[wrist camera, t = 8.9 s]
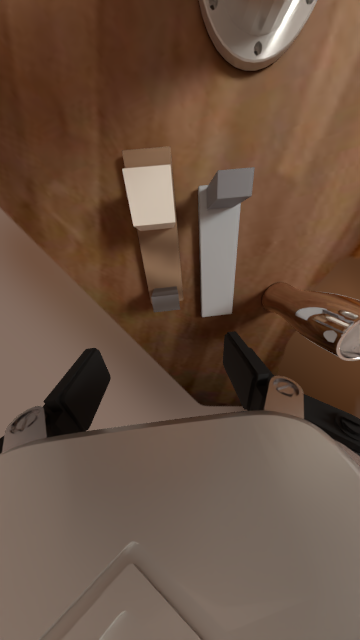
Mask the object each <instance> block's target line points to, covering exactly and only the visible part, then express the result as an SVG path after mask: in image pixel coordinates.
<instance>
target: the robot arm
mask: <svg viewBox="0 0 360 640" xmlns="http://www.w3.org/2000/svg"><path fill="white" fill-rule="evenodd" d="M316 2H317V0H199V4H200V8H201V13H202V17H203V20H204V23H205V26H206V28H207V31H208V34H209V36H210V38H211V40H212V42H213V44H214V46H215V47H216V49H217V51H218V52H219V53H220V54H221V55H222V57H223V58H224V59H225V60H226V61H227V62H229V63H230V64H231V65H233V66H234V67H236V68H239V69H242V70H245V71H256V70H259V69H262V68H265V67H267V66H269V65H270V64H272V63H274V62H275V61H277V60H278V59H279V58H280V57H281V56H282V55H283V54H284V53H285V52H286V51H287V50H288V48H289V47H290V46H291V44H292V43H293V42H294V40H295V39H296V38H297V36H298V34H299V33H300V31H301V29H302V28H303V26H304V25H305V23H306V21H307V20H308V18H309V16H310V14H311V12H312V10H313V8H314V6H315V4H316ZM223 365H224V368H225V370H226V372H227V374H228V376H229V378H230V380H231V382H232V385H233V387H234V389H235V391H236V393H237V395H238V397H239V399H240V402H241V404H242V406H243V408H244V409H247V411H241V412H231V413H222V414H213V415H206V416H198V417H190V418H182V419H174V420H166V421H159V422H151V423H144V424H137V425H130V426H121V427H114V428H107V429H99V430H92V431H86V430H88V429H89V427H90V425H91V423H92V421H93V418H94V416H95V414H96V411H97V409H98V407H99V405H100V402H101V400H102V398H103V395H104V393H105V391H106V388H107V386H108V384H109V381H110V374H109V372H108V369H107V367H106V365H105V363H104V360H103V358H102V356H101V353H100V351H99V350H97V349H96V348H90V349H86V350H85V351H84V352H83V353H82V354H81V356H80V357H79V358H78V359H77V361H76V362H75V363H74V364H73V366H72V367H71V368H70V369H69V371H68V372H67V373H66V374H65V376H64V377H63V378H62V379H61V381H60V382H59V383H58V384H57V385H56V387H55V388H54V389H53V391H52V392H51V393H50V394H49V395H48V397H47V398H46V399H45V400H44V403H45V405H44V406H43V407H41V406H36V407H33V408H30V409H28V410H26V411H24V412H23V413H21V414H20V415H18V417H16V418H15V419H14V420H13V421H12V422H11V423H10V424H9V425H8V427H7V428H6V431H5V435H4V436H3V437H2V438H0V640H360V419H359V418H357V417H355V416H353V415H351V414H349V413H346V412H344V411H342V410H339V409H337V408H335V407H333V406H330V405H328V404H326V403H323V402H321V401H319V400H317V399H314V398H312V397H310V396H307V395H305V394H303V390H302V388H301V387H300V386H299V385H298V384H297V383H296V382H294V381H293V380H291V379H289V378H287V377H283V376H274V375H273V374H272V373H271V372H270V370H269V369H268V368H267V367H266V366H265V364H264V363H263V362H262V361H261V360H260V358H259V357H258V356H257V355H256V353H255V352H254V351H253V350H252V349H251V348H249V347H248V346H247V345H246V344H245V342H244V341H243V340H242V339H241V338H240V336H239V335H238V334H237V333H236V332H228V333H227V334H226V335H225V338H224V353H223Z"/></svg>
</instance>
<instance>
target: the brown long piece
mask: <svg viewBox="0 0 360 640" xmlns="http://www.w3.org/2000/svg"><path fill="white" fill-rule="evenodd" d="M122 154H123V160H124V165H125V168H135V167H147V166H159V165H171V176H172V187H173V199H174V210H175V226H174V228H166V229H156V230H145V231H140V230H138V229H137V232H138V238H139V243H140V248H141V253H142V258H143V264H144V269H145V274H146V279H147V284H148V290H149V295H150V300H151V304H153V310H154V312H161V311H170V310H178V309H180V305H179V301H180V300H183V290H182V279H181V267H180V255H179V243H178V231H177V219H176V207H175V195H174V183H173V171H172V159H171V147H170V146H169V147H157V148H145V149H132V150H122Z"/></svg>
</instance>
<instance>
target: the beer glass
mask: <svg viewBox="0 0 360 640" xmlns="http://www.w3.org/2000/svg"><path fill="white" fill-rule="evenodd" d="M262 305H263V307H264V308H265V309H266V310H268V311H270V312H273V313H276V314H278V315H280V316H281V317H282V318H283V319H285V320H286V321H287V322H288V323H289V324H290V325H291V326H292V327H293V328H294V329H295V330H296V331H297V332H299V333H300V334H301V335H302V336H304V337H305V338H307V339H308V340H310V341H311V342H313V343H315V344H316V345H318V346H320V347H322V348H323V349H325V350H327V351H329V352H331V353H333V354H335V355H336V356H338V357H340V358H341V359H343V360H347V361H354V360H360V300H357V299H354V298H350V297H346V296H342V295H338V294H332V293H325V292H316V291H306V290H300V289H296V288H294V287H293V286H291V285H289V284H287V283H284V282H279V283H275V284H273V285H271V286H270V287H269V288H268V289H267V290H266V291H265V293H264V294H263V297H262Z"/></svg>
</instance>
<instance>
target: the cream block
mask: <svg viewBox="0 0 360 640" xmlns="http://www.w3.org/2000/svg"><path fill="white" fill-rule="evenodd" d="M122 171H123V176H124V181H125V186H126V191H127V196H128V201H129V206H130V211H131V216H132V221H133V226H134V227H135V228H137V229H138V230H140V231H145V230H156V229H166V228H174V226H175V210H174V199H173V187H172V176H171V165H159V166H147V167H135V168H124V169H122Z"/></svg>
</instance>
